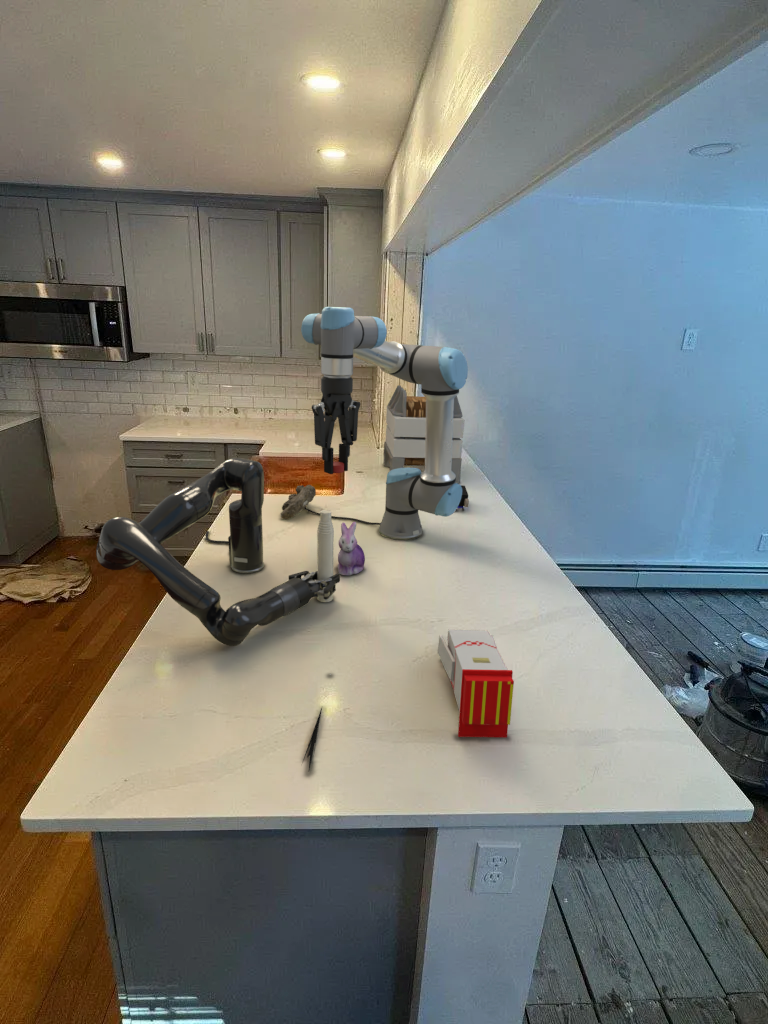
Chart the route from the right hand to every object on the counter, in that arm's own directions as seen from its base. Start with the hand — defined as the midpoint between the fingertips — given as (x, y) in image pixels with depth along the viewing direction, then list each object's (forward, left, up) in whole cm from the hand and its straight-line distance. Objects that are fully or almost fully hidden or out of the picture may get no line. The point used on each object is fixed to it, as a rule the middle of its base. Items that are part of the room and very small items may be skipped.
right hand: (336, 471), depth 142 cm
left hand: (-2, 0, -30) cm, 30 cm away
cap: (0, 0, +2) cm, 2 cm away
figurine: (-11, +14, -36) cm, 40 cm away
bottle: (-1, -2, -36) cm, 36 cm away
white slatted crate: (-77, +107, -36) cm, 136 cm away
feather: (+38, -31, -36) cm, 60 cm away
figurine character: (-32, +85, -36) cm, 98 cm away
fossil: (-63, +29, -36) cm, 78 cm away
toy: (+50, -1, -36) cm, 61 cm away
